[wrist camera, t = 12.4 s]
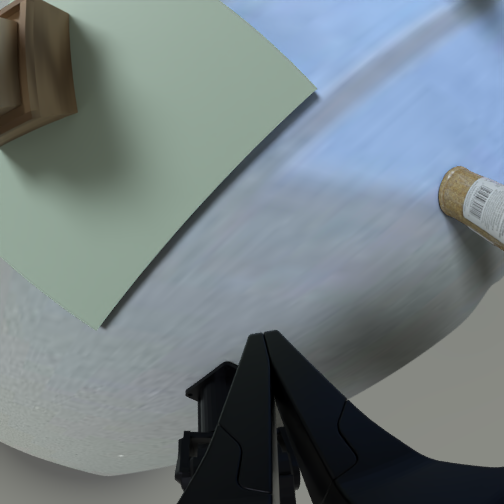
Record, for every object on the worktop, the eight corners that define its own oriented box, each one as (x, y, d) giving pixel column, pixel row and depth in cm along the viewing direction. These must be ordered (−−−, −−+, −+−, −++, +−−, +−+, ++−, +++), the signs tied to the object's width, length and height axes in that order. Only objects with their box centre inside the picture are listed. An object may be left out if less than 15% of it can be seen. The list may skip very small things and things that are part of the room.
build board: (98, 324, 22) (96, 330, 22) (-65, 178, 13) (-70, 180, 13) (313, 89, 16) (317, 88, 15) (84, -70, 7) (81, -74, 7)
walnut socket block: (77, 112, 14) (32, 118, 9) (-2, 147, 14) (-50, 166, 9) (68, 13, 11) (26, -8, 6) (-11, 58, 10) (-58, 57, 6)
